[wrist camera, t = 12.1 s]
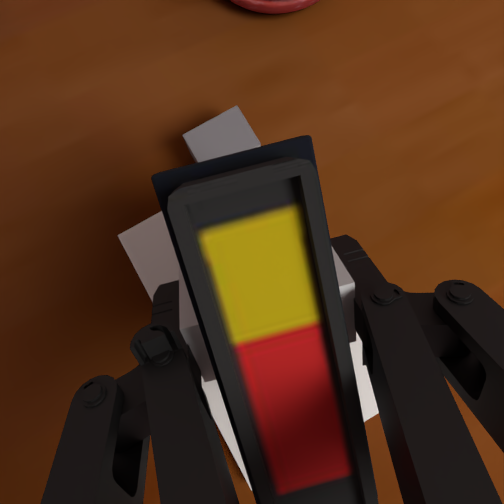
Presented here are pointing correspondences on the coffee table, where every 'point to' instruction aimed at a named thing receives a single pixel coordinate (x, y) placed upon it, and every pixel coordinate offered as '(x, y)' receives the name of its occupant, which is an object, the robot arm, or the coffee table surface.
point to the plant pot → (274, 5)
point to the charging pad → (167, 267)
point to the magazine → (272, 319)
